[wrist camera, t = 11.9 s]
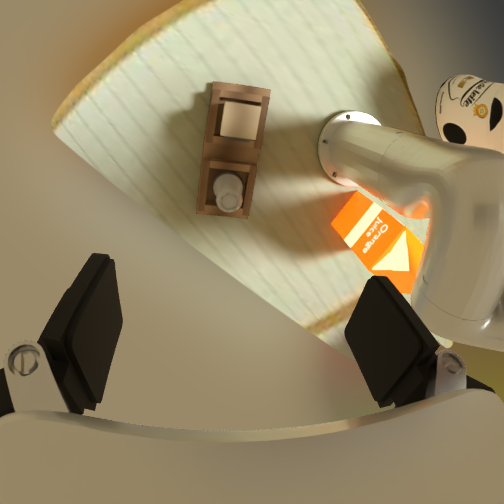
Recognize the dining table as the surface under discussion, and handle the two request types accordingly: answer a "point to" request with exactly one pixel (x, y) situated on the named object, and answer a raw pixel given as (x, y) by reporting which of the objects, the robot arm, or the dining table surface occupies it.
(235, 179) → the rook chess piece
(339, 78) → the dining table surface
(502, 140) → the milk container
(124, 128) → the dining table surface
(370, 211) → the orange juice
